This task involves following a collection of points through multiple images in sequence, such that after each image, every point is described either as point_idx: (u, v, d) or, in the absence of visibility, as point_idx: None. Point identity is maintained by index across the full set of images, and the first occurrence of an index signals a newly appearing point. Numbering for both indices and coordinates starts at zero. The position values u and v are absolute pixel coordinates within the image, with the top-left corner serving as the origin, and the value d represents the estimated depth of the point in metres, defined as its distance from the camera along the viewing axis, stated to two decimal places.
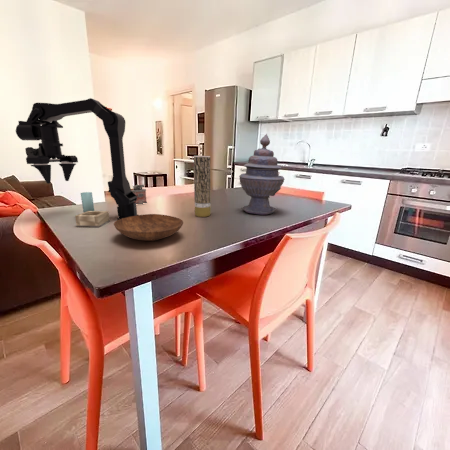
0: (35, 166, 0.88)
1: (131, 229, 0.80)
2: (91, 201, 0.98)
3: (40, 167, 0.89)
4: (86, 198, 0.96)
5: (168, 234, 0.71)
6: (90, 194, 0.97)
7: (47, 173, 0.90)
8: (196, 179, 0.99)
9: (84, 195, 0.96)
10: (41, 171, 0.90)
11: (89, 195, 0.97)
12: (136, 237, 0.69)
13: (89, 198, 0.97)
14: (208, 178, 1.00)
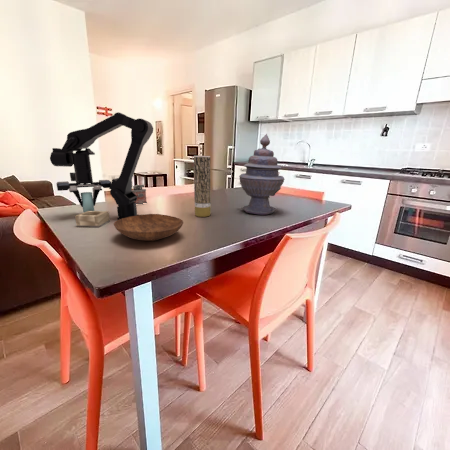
0: None
1: (131, 229, 0.80)
2: (91, 201, 0.98)
3: None
4: (86, 198, 0.96)
5: (168, 234, 0.71)
6: (90, 194, 0.97)
7: (77, 198, 0.95)
8: (196, 179, 0.99)
9: (84, 195, 0.96)
10: None
11: (89, 195, 0.97)
12: (136, 237, 0.69)
13: (89, 198, 0.97)
14: (208, 178, 1.00)
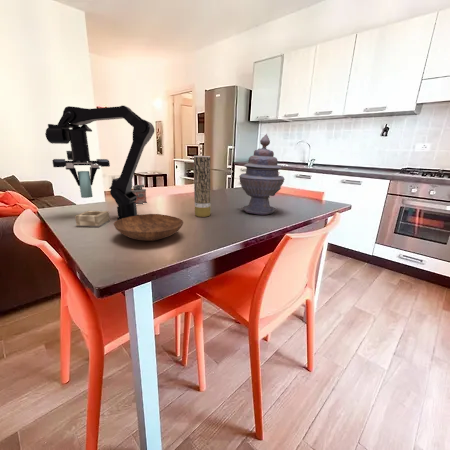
0: None
1: (131, 229, 0.80)
2: (88, 180, 0.95)
3: None
4: (83, 176, 0.94)
5: (168, 234, 0.71)
6: (87, 173, 0.95)
7: None
8: (196, 179, 0.99)
9: (81, 173, 0.93)
10: None
11: (86, 174, 0.94)
12: (136, 237, 0.69)
13: (86, 176, 0.94)
14: (208, 178, 1.00)
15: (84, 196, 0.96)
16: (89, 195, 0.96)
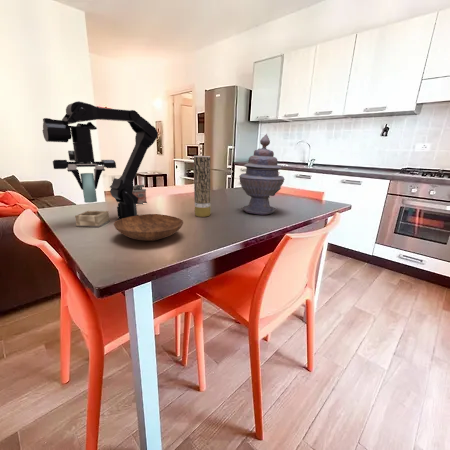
0: None
1: (131, 229, 0.80)
2: (92, 183, 0.86)
3: None
4: (87, 179, 0.84)
5: (168, 234, 0.71)
6: (91, 175, 0.85)
7: (76, 179, 0.83)
8: (196, 179, 0.99)
9: (84, 176, 0.84)
10: None
11: (90, 176, 0.85)
12: (136, 237, 0.69)
13: (90, 179, 0.85)
14: (208, 178, 1.00)
15: (88, 201, 0.86)
16: (93, 200, 0.87)
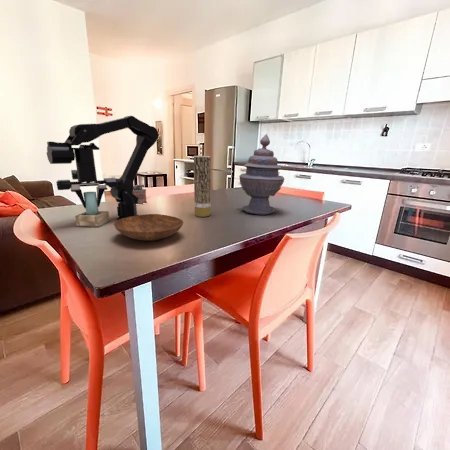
0: None
1: (131, 229, 0.80)
2: (95, 202, 0.88)
3: None
4: (90, 198, 0.86)
5: (168, 234, 0.71)
6: (94, 194, 0.87)
7: (79, 198, 0.85)
8: (196, 179, 0.99)
9: (87, 195, 0.86)
10: None
11: (93, 195, 0.87)
12: (136, 237, 0.69)
13: (92, 198, 0.87)
14: (208, 178, 1.00)
15: None
16: None
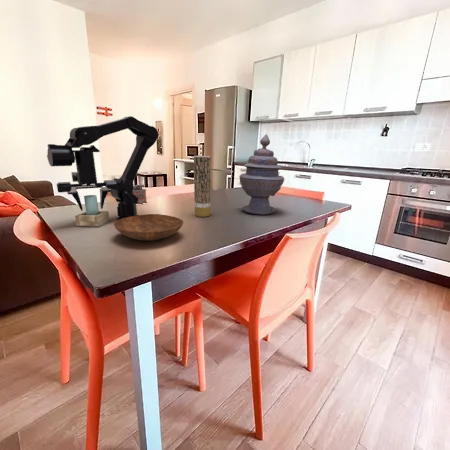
0: None
1: (131, 229, 0.80)
2: (96, 205, 0.88)
3: None
4: (91, 202, 0.87)
5: (168, 234, 0.71)
6: (95, 197, 0.88)
7: None
8: (196, 179, 0.99)
9: (88, 198, 0.86)
10: None
11: (93, 198, 0.87)
12: (136, 237, 0.69)
13: (93, 201, 0.87)
14: (208, 178, 1.00)
15: None
16: None
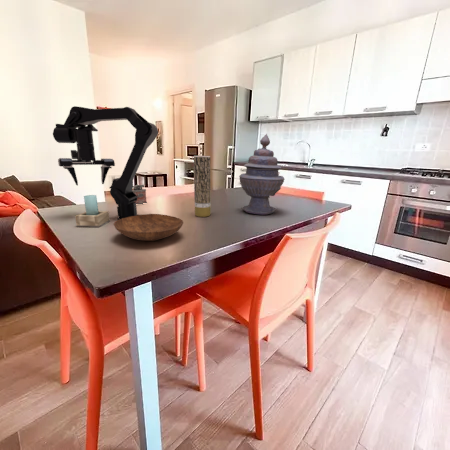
0: None
1: (131, 229, 0.80)
2: (95, 205, 0.88)
3: None
4: (90, 202, 0.87)
5: (168, 234, 0.71)
6: (94, 197, 0.87)
7: (72, 175, 0.92)
8: (196, 179, 0.99)
9: (88, 198, 0.86)
10: (71, 173, 0.93)
11: (93, 199, 0.87)
12: (136, 237, 0.69)
13: (93, 201, 0.87)
14: (208, 178, 1.00)
15: None
16: None
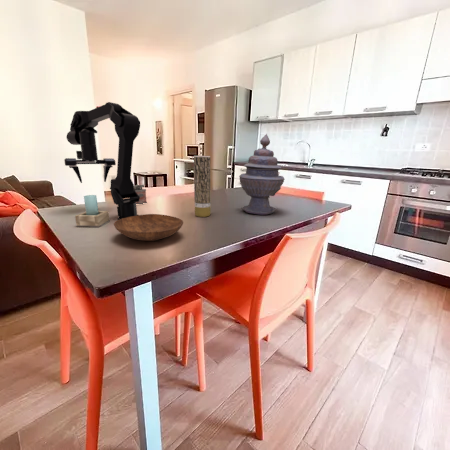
0: None
1: (131, 229, 0.80)
2: (95, 205, 0.88)
3: None
4: (90, 202, 0.87)
5: (168, 234, 0.71)
6: (94, 197, 0.87)
7: None
8: (196, 179, 0.99)
9: (88, 198, 0.86)
10: (75, 172, 1.02)
11: (93, 199, 0.87)
12: (136, 237, 0.69)
13: (93, 201, 0.87)
14: (208, 178, 1.00)
15: None
16: None
